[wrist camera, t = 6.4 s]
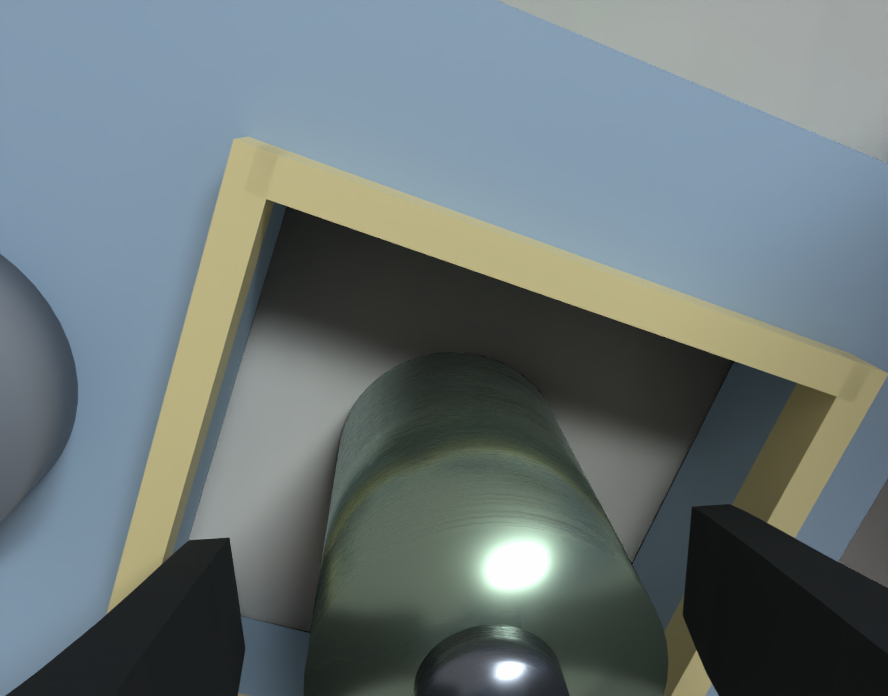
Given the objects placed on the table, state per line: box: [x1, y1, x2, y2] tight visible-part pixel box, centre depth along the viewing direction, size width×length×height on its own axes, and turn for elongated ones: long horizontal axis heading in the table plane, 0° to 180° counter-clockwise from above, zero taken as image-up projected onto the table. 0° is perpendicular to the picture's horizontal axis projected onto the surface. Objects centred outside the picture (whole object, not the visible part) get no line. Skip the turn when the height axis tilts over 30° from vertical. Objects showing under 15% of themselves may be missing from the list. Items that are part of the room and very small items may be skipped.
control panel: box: [0, 0, 888, 696], centre depth 12 cm, size 20×16×4 cm
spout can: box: [303, 352, 669, 696], centre depth 11 cm, size 4×6×7 cm
